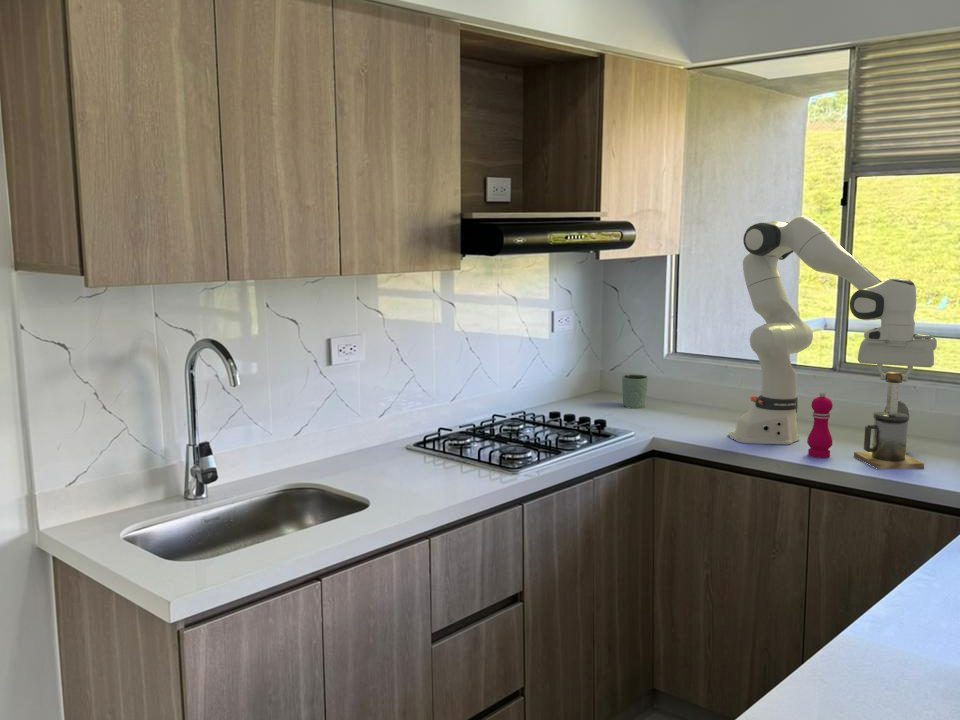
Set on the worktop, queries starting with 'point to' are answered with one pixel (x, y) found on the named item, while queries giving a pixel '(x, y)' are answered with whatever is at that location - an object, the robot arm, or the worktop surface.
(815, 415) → the pepper mill
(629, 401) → the green cup
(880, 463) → the plate
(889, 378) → the plunger
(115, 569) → the worktop surface
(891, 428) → the press
